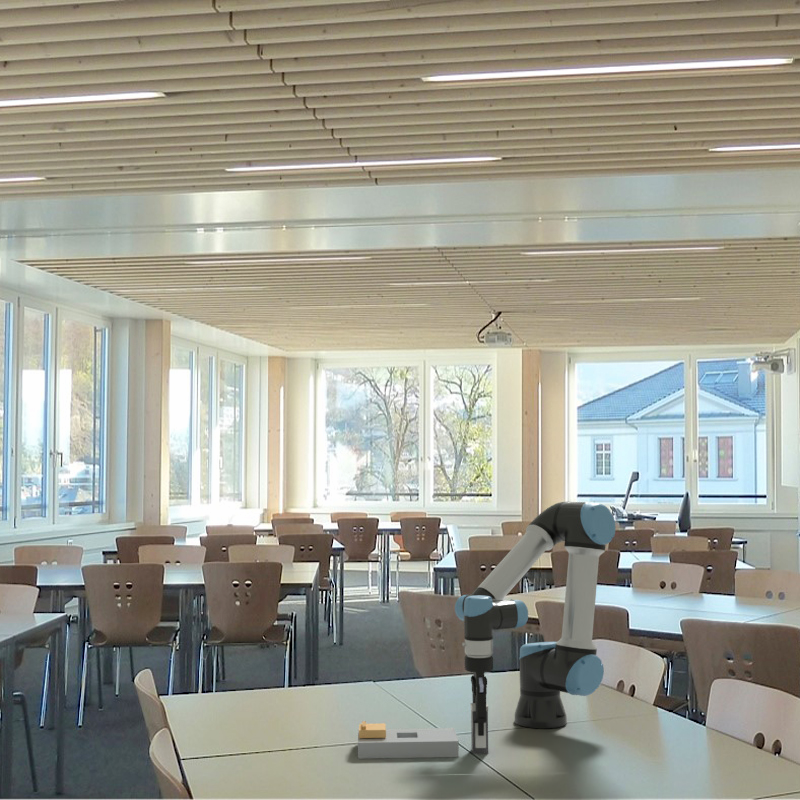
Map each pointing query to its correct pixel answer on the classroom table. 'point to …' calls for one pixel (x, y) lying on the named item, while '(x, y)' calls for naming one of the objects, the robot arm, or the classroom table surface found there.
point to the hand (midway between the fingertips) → (479, 744)
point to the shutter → (372, 730)
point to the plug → (473, 718)
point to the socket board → (411, 744)
